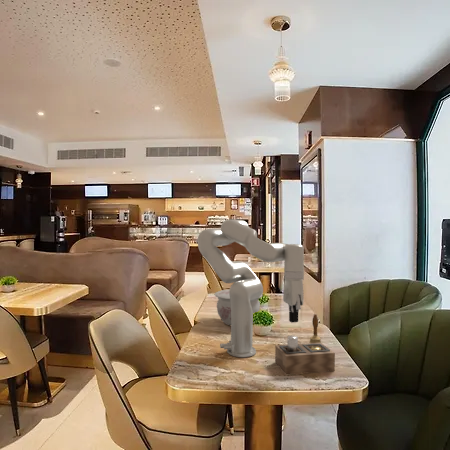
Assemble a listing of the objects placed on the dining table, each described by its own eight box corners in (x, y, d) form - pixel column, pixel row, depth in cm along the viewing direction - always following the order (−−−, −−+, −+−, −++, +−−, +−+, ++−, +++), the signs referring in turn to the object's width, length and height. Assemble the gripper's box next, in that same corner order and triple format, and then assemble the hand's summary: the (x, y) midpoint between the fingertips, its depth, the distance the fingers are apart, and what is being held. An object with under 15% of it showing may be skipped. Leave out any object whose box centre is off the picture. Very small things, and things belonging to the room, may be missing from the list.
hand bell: (321, 354, 154) (322, 317, 154) (303, 350, 158) (303, 315, 158) (327, 348, 161) (327, 313, 161) (309, 345, 165) (309, 311, 165)
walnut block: (285, 374, 132) (286, 355, 132) (275, 362, 144) (275, 344, 144) (334, 370, 136) (334, 352, 136) (320, 359, 148) (320, 341, 148)
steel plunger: (289, 356, 137) (289, 339, 137) (285, 353, 141) (286, 335, 141) (299, 356, 138) (299, 338, 138) (295, 352, 142) (295, 335, 142)
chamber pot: (264, 331, 185) (265, 292, 185) (212, 330, 186) (213, 291, 186) (260, 317, 213) (260, 283, 213) (215, 316, 214) (215, 282, 214)
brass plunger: (313, 367, 139) (313, 350, 139) (308, 363, 143) (309, 346, 143) (322, 367, 140) (322, 349, 140) (318, 363, 144) (318, 346, 144)
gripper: (278, 273, 146) (278, 317, 146) (292, 278, 131) (292, 327, 131) (295, 272, 147) (295, 316, 147) (311, 278, 132) (310, 326, 132)
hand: (293, 321), depth 139 cm, fingers closed
